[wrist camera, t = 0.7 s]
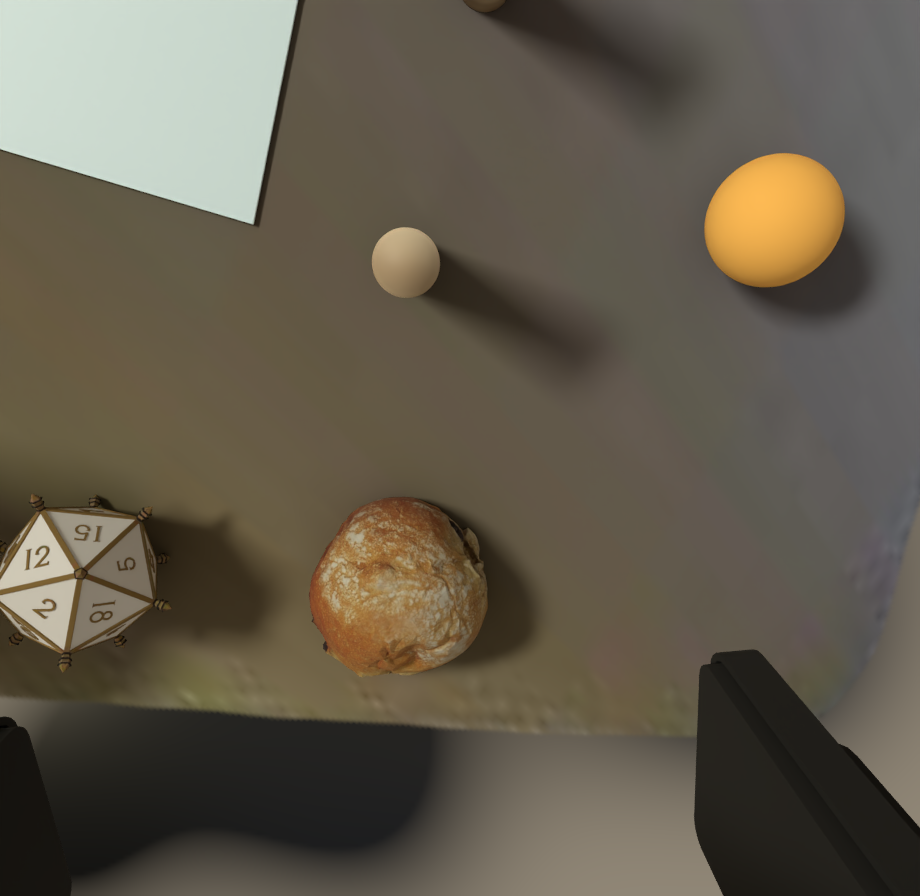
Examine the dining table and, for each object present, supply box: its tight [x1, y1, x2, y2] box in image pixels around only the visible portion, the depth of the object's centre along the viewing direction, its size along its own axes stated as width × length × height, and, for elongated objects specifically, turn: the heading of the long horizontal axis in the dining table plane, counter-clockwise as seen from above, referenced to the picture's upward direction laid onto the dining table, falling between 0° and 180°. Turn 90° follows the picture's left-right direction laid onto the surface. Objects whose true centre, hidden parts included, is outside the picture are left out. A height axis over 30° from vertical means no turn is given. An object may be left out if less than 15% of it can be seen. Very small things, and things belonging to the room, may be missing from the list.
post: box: [372, 227, 440, 298], centre depth 30 cm, size 3×3×9 cm
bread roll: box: [309, 497, 488, 677], centre depth 37 cm, size 10×10×8 cm
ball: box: [704, 153, 845, 287], centre depth 31 cm, size 6×6×6 cm
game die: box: [0, 494, 172, 673], centre depth 34 cm, size 9×8×10 cm
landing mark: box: [0, 0, 298, 225], centre depth 30 cm, size 14×14×1 cm
